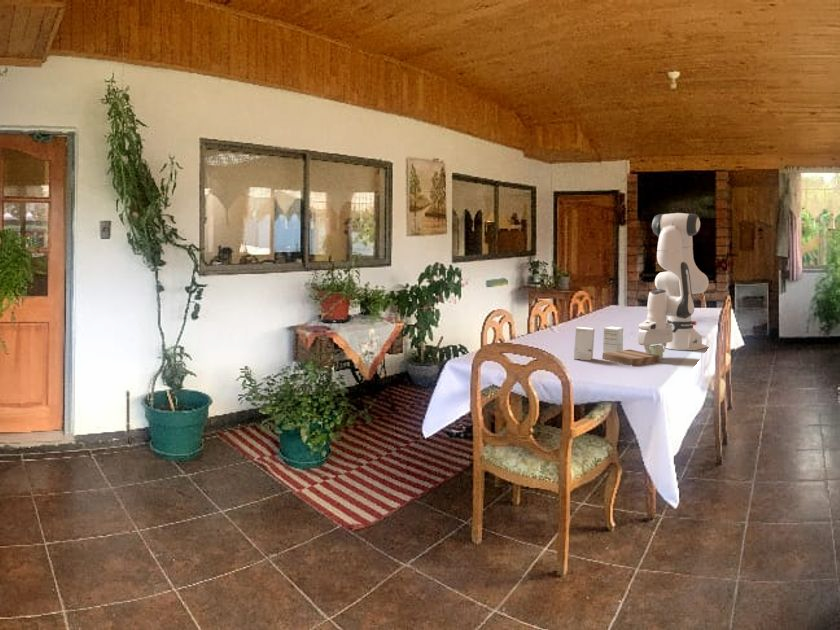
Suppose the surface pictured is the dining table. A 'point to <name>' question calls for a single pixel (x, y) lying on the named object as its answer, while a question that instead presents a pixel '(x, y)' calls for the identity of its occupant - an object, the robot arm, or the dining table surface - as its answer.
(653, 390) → the dining table surface
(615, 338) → the supplement box
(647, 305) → the robot arm
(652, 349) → the sage block
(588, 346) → the skincare box
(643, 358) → the walnut stand
